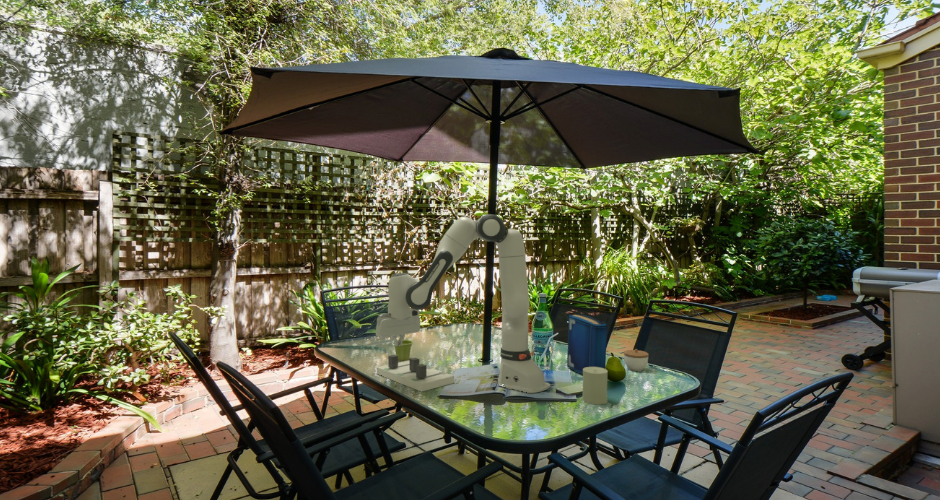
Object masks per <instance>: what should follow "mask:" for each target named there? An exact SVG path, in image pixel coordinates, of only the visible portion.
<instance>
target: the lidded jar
mask: <svg viewBox="0 0 940 500" xmlns="http://www.w3.org/2000/svg"><path fill="white" fill-rule="evenodd" d="M623 359H624V360H623V361H624V364H625V366H626V367H627V368H628V370H629V371H632V372H633V371H634V372H642V371H643V370H644V369H646V368H647V366H648V362H649V353H648V352H647V351H644V350H638V348H635V349H627V350H624V351H623Z"/></svg>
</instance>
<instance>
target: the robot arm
mask: <svg viewBox="0 0 940 500" xmlns="http://www.w3.org/2000/svg"><path fill="white" fill-rule="evenodd" d="M476 239H481V240H483V241H485V242H492V243H495V244H496V246H497V251H498V265H499V278H500V293H501V310H502V311H501V347H500V352H499V354H500V357H501V359H500V366H499V373H498V374H499V375H498V378H497V380H498V381H499V382H497V385H498V384H500V385H502V384H504V385H503V386H505V387H506V388H505V389H509V390H512V389H515V390H514V391H517V390H520V391H519V392H521V391H523V392H522V393H526V392H527V393H526V394H534V393H539V392H543V391H546V390H548V389H550V388H551V384H550V383H549V382H546V379H545V373H544V371H543V369H541V367H540V366H538V364H537V363H536V362H535V361H534V360H533V359H532V356H534V352H531V351H530V348H529V309H530V297H529V296H530V295H529V284H528V274H527V260H526V259H527V258H526V249H525V243H524V239H523V235H522V233H521V232H520V231H519V230H517V229H513V228H508V227H507V225H506V224H505V223H504V221H503V219H501V217H500V216H498V215H496V214H491V213H487V214H484V215H482V216H481V217H480V218H478V219H476V220H474V219H472V218H471V217H467V216H460V217H458V218H457V219H456V220H455V222H453V223H452V224H451V226H450V227H449V229H447V230H446V232H445V233H444V235H443V236H442V238H441V240H440V242H439V244H438V247H437V249H436V252H435V255H434V258H433V260H432V263H431V264H430V265H429V267H428V269H427V270H426V272H425V273H424V275H423V276H422V278H421V279H418V278H417V279H416V278H415V277H413V276H412V275H410V274H409V273H407V272H400V273H397V274H394V275H393V274H392V275H391V277H390V278H389V281H388V288H387V289H388V293H387V295H388V303H387V313H385V314H380V315H378V316H377V318H376V326H375V327H376V328H375V336H376V337H378V338H380V339H383V338H390V337H391V339H392V340H393V342H394V344H393V345H394V347H395V346H400V345H402V341H403V340H405V337H406V335H408V334H414V333H415V334H417V333H420V330H421V318H420V314H421V313H420V310H425V309H427V307H429V305H430V303H431V301H432V297H433V292H434V290H435V288H436V286H437V284H438V283H439V282H440V280H442V277H443V276H444V274H445V273H446V272H447V270H449V269H450V268H451V267H452V266H453V265H455V263H457V262H458V261H459V260H460V259H461V257H463V255H465V253H466V252H467V250H468V248H469V247H470V245H471V244H472V243H473V242H474V241H475V240H476ZM398 337H399V339H398ZM398 340H399V341H398Z"/></svg>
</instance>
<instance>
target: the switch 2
mask: <svg viewBox="0 0 940 500" xmlns="http://www.w3.org/2000/svg"><path fill="white" fill-rule="evenodd" d="M419 364H420V365H416V378H419V379H423V378H427V367H428V366H427V364H423V363H419Z"/></svg>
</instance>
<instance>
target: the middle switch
mask: <svg viewBox="0 0 940 500" xmlns="http://www.w3.org/2000/svg"><path fill="white" fill-rule="evenodd" d="M409 361H410V363H409V370H410V371H413V372H415V371H416V365H419V364H420V358H419V357H411V358H409Z"/></svg>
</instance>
